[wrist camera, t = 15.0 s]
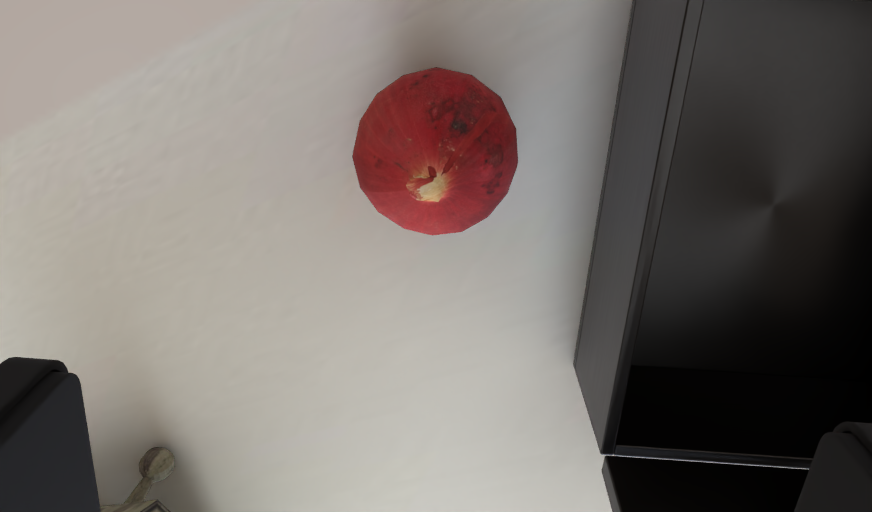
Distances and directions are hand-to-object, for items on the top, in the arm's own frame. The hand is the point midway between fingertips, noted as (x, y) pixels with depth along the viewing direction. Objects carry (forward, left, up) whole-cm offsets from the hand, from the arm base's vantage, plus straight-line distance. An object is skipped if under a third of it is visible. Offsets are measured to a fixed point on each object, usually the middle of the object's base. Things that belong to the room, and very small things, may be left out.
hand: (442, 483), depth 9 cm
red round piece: (0, -1, -21) cm, 21 cm away
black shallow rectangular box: (+2, +13, -21) cm, 25 cm away
